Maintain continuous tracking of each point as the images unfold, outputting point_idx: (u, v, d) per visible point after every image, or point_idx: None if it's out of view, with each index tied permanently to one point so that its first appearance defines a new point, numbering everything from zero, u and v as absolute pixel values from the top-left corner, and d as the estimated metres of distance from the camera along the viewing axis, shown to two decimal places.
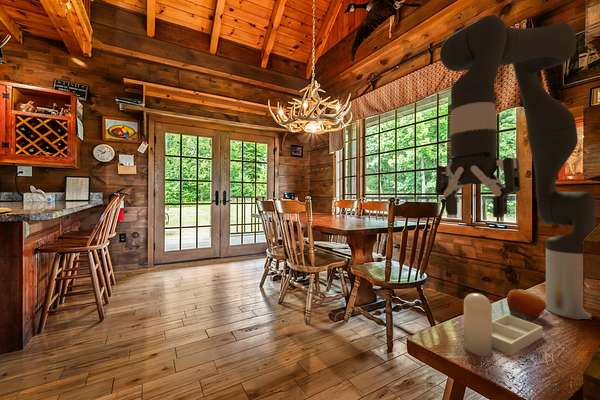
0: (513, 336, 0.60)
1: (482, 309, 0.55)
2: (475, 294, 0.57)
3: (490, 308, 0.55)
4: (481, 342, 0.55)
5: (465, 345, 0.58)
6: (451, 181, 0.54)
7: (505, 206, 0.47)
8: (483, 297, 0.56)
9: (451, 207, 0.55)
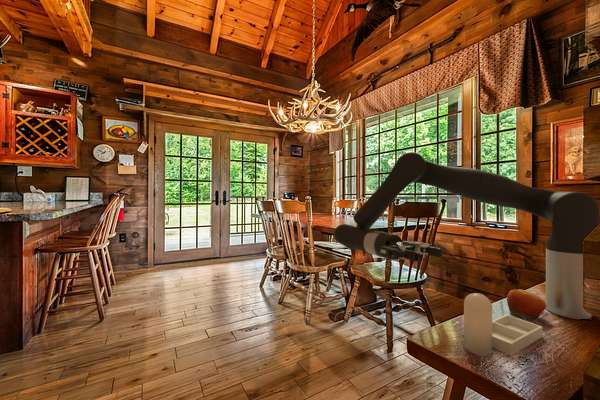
0: (513, 336, 0.60)
1: (482, 309, 0.55)
2: (475, 294, 0.57)
3: (490, 308, 0.55)
4: (481, 342, 0.55)
5: (465, 345, 0.58)
6: None
7: (409, 255, 0.66)
8: (483, 297, 0.56)
9: (434, 255, 0.70)
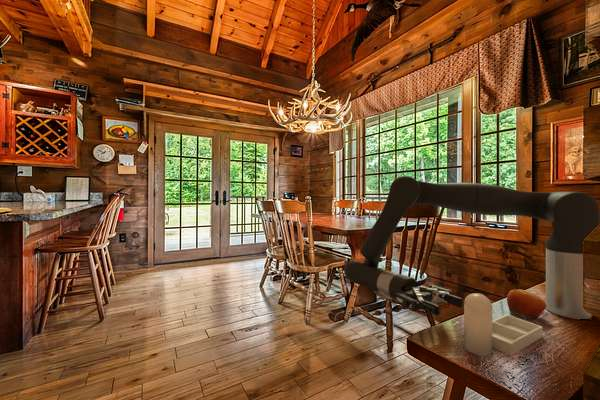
0: (513, 336, 0.60)
1: (483, 309, 0.55)
2: (476, 294, 0.57)
3: (491, 308, 0.55)
4: (481, 342, 0.55)
5: (465, 345, 0.57)
6: None
7: (429, 308, 0.62)
8: (484, 297, 0.56)
9: (455, 304, 0.66)
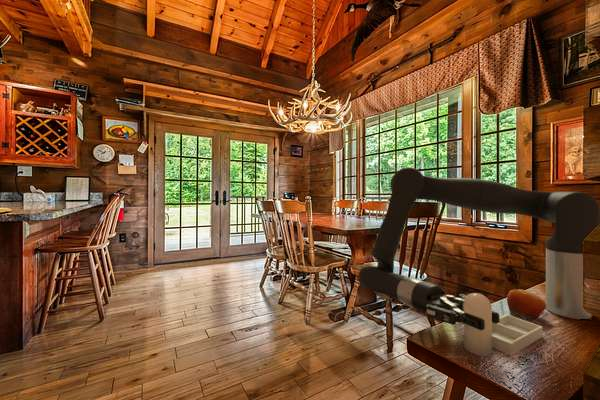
0: (513, 336, 0.60)
1: (482, 309, 0.55)
2: (475, 294, 0.57)
3: (490, 308, 0.55)
4: (481, 342, 0.55)
5: (465, 345, 0.57)
6: None
7: (470, 321, 0.55)
8: (483, 297, 0.56)
9: None
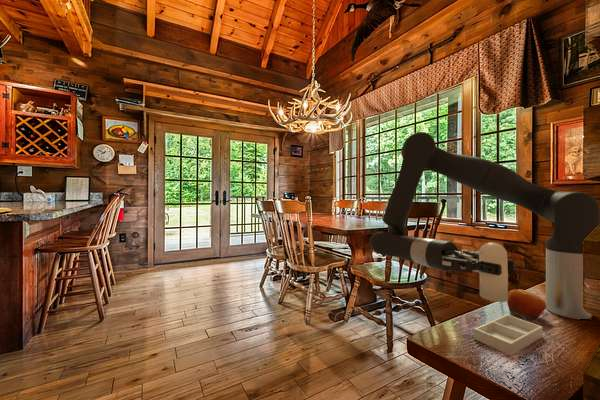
0: (513, 336, 0.60)
1: (498, 255, 0.56)
2: (490, 243, 0.58)
3: (506, 254, 0.56)
4: (498, 288, 0.56)
5: (481, 294, 0.58)
6: None
7: (487, 268, 0.56)
8: (499, 245, 0.57)
9: None
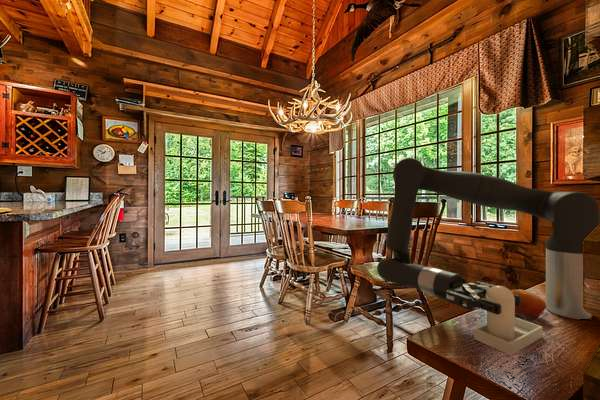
0: None
1: (506, 300, 0.57)
2: (498, 286, 0.59)
3: (513, 299, 0.58)
4: (505, 332, 0.57)
5: None
6: None
7: (487, 306, 0.57)
8: (506, 289, 0.58)
9: None
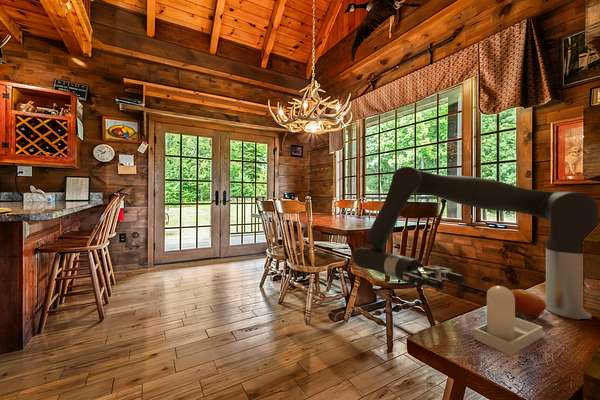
0: None
1: (506, 301, 0.57)
2: (499, 287, 0.59)
3: (514, 300, 0.57)
4: (505, 332, 0.57)
5: None
6: None
7: (432, 283, 0.69)
8: (507, 289, 0.58)
9: (456, 281, 0.73)
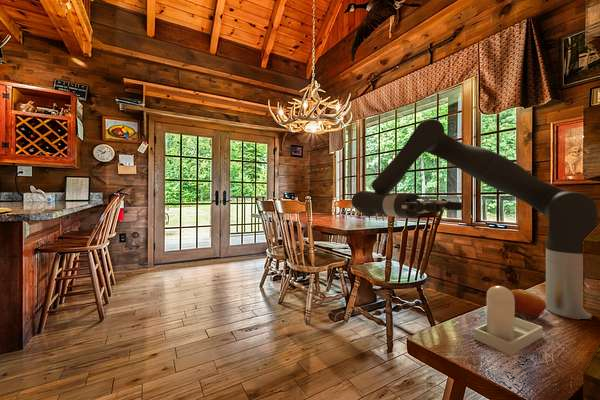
0: None
1: (506, 301, 0.57)
2: (498, 287, 0.59)
3: (513, 300, 0.57)
4: (505, 332, 0.57)
5: None
6: None
7: (431, 206, 0.68)
8: (506, 289, 0.58)
9: (454, 209, 0.72)
